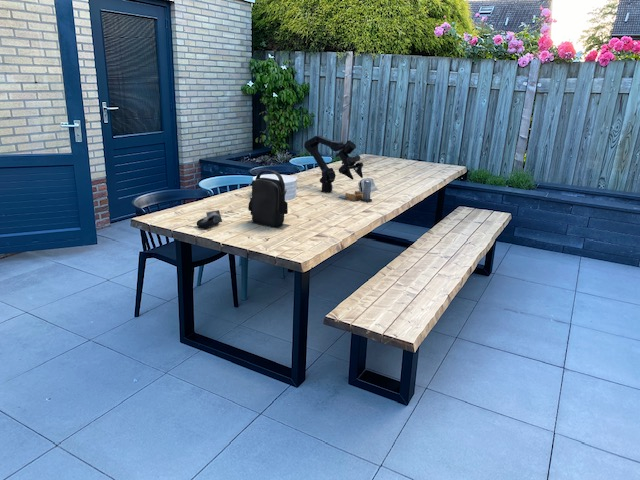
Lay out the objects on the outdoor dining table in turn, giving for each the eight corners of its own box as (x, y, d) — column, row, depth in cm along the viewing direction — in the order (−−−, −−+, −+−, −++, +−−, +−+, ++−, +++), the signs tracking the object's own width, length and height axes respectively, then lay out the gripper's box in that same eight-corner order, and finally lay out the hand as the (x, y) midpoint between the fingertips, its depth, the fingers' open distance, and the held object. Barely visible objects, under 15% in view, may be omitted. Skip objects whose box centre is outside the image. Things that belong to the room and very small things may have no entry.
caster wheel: (197, 234, 238) (200, 225, 246) (220, 230, 237) (222, 221, 246) (193, 222, 234) (197, 213, 243) (216, 217, 234) (219, 209, 243)
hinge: (365, 193, 324) (362, 179, 323) (360, 195, 327) (356, 180, 325) (377, 189, 337) (374, 175, 336) (372, 191, 340) (368, 177, 339)
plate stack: (290, 202, 294) (290, 184, 290) (246, 199, 299) (246, 180, 295) (301, 193, 320) (301, 176, 316) (260, 189, 325) (260, 173, 321)
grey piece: (360, 201, 303) (362, 180, 299) (365, 199, 307) (367, 179, 303) (366, 202, 300) (368, 182, 296) (371, 201, 304) (373, 181, 299)
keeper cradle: (338, 197, 310) (339, 192, 309) (352, 194, 319) (353, 189, 318) (354, 201, 301) (354, 196, 300) (368, 198, 311) (368, 193, 310)
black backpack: (292, 225, 248) (293, 171, 239) (282, 229, 240) (283, 174, 232) (257, 218, 258) (256, 166, 250) (246, 222, 251) (245, 168, 242)
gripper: (342, 151, 296) (355, 172, 293) (362, 149, 309) (374, 169, 305) (332, 162, 304) (345, 183, 300) (352, 160, 317) (364, 179, 313)
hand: (357, 178), depth 305 cm, fingers open, 9 cm apart
